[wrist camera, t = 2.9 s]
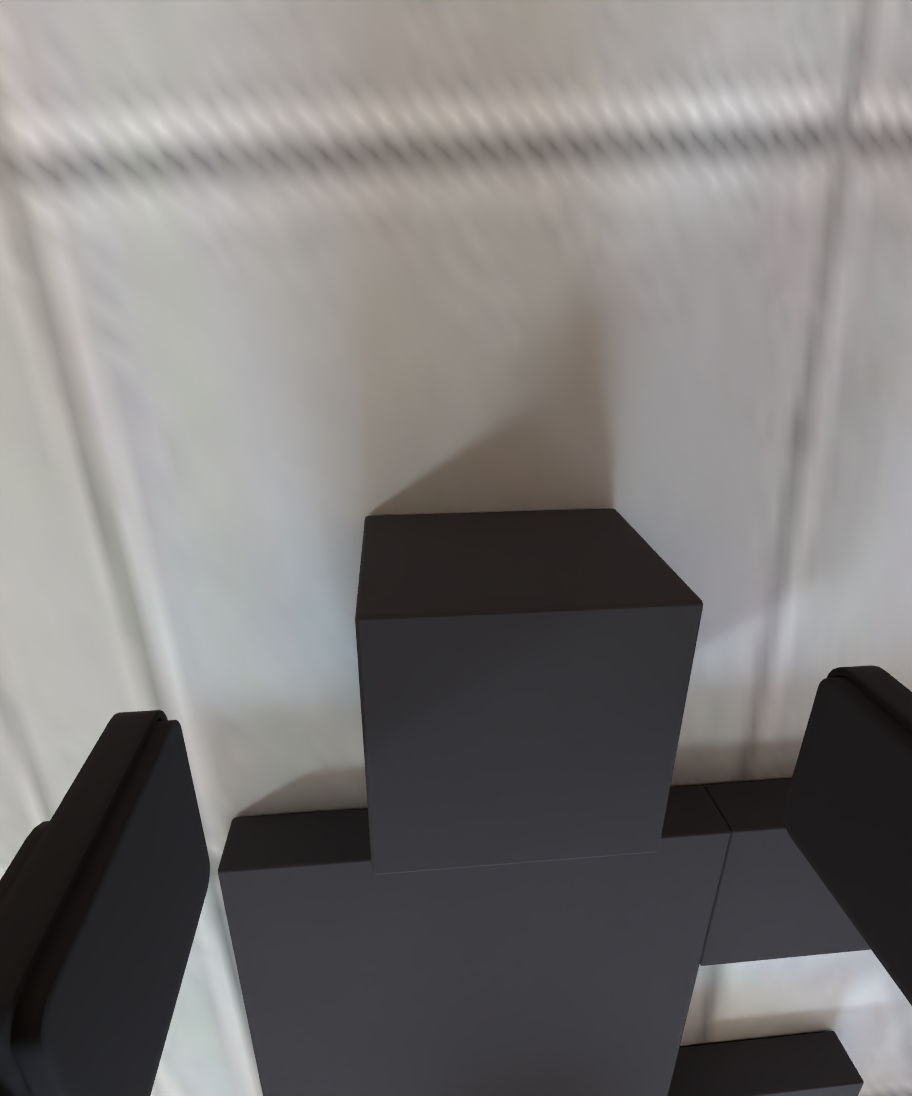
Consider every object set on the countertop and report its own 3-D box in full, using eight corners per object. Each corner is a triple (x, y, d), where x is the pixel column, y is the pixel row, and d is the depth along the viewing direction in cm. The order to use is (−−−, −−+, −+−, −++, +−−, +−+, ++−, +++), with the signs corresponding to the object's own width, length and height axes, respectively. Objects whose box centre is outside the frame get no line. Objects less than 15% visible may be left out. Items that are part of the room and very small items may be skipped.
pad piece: (615, 507, 13) (705, 601, 9) (592, 709, 15) (659, 853, 11) (364, 514, 12) (354, 616, 9) (376, 722, 14) (372, 877, 11)
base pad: (937, 767, 17) (987, 811, 15) (802, 1111, 23) (828, 1164, 22) (232, 816, 15) (216, 871, 14) (296, 1171, 21) (290, 1233, 20)
